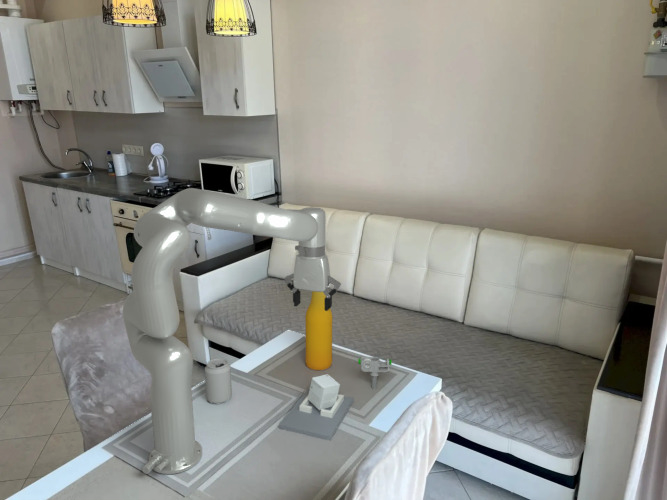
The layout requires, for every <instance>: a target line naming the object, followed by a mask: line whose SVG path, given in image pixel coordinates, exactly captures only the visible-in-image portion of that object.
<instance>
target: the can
mask: <svg viewBox="0 0 667 500" xmlns="http://www.w3.org/2000/svg"><path fill="white" fill-rule="evenodd" d="M204 377H205V378H204V380H205V396H206V400H207V401H208V402H210V403H211V402H212V403H211V404H213V403H221V404H224V403H223V402H225V403H226V402H228V401H229V400H230V399H231V398H232V395H233V393H232V392H233V391H232V389H233V388H232V369H231V364H230V363H229V361H228V359H225V358H221V357H220V358H213V359H210V360H208V361H207V363H206V366H205V367H204ZM227 400H228V401H227Z"/></svg>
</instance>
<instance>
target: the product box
mask: <svg viewBox="0 0 667 500" xmlns="http://www.w3.org/2000/svg"><path fill="white" fill-rule="evenodd" d="M340 386H341V384H340V383H339V382H338V381H336V379H334V378H333V377H332V376H331V375H329V374H328V373H327V374H322V375H319V376H313V377H311V382H310V386H309V389H310V391H309V396H308V400H309V401H310V402H311V403H312V404H314V405H315V406H316V407H317V409H318V410H321V409H326V408H329V407H333V406H334V404H335V403H336V400H337V396H338V394H339V391H340Z"/></svg>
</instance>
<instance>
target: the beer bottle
mask: <svg viewBox="0 0 667 500" xmlns="http://www.w3.org/2000/svg"><path fill="white" fill-rule="evenodd" d="M310 297H311V298H310V303H309V305H308V307H307V309H306V312H305V317H304V318H305V365H306V367H307V368H309V370H313V371H323V370H327V369H329V368H331V366H332V364H333V312H332V310H331V308H330V309H329V310H328V311H325V298H326V296H325V294H324V293H323V292H315V291H311V296H310Z"/></svg>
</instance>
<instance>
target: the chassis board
mask: <svg viewBox="0 0 667 500" xmlns="http://www.w3.org/2000/svg"><path fill="white" fill-rule="evenodd" d="M309 391H310V388H307V389H306V390H305V392H304V393H303V394H302V395H301V397H300V398H299V399H298V400H297V402H296V403H295V404H294V405H293V406H292V408H290V410H289V411H288V413H287V414H286V415H285V417H284V418H283V419H282V420H281V422H280V423H279V424H278V429H280V430H285V431H289V432H293V433H298V434H301V435H305V436H310V437H315V438H318V439H322V440H327V441H330V442H331V441H332V439H333V438H334V436H335V434H336V433H337V431H338V429H339V427H340V426H341V424H342V422H343V420H344V419H345V418H346V416H347V414H348V412H349V410H350V408H351V407H352V406H353V403H354V402H355V398H354V397H350V396H346V395H344V394H339V393H338V396H337V400H336V403H335V404H334V406H333V407H329V408H326V409H321V410H318V409H317V407H316V406H315V405H314V404H312V403H311V402H310V401H309V400H308V396H309Z"/></svg>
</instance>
